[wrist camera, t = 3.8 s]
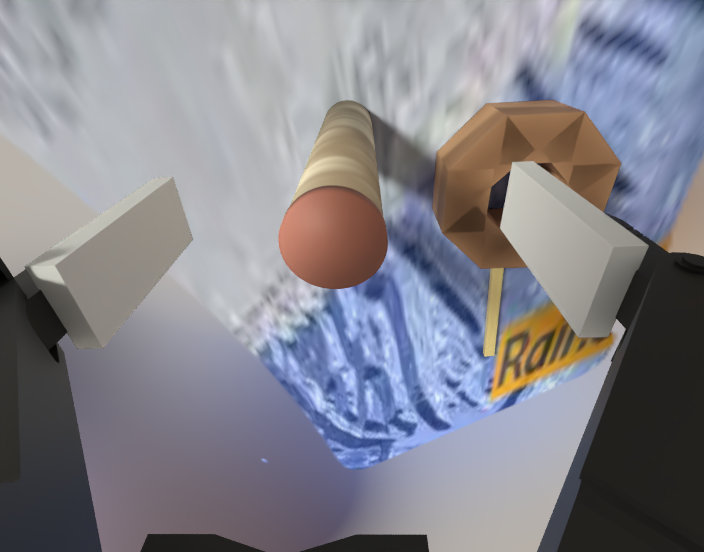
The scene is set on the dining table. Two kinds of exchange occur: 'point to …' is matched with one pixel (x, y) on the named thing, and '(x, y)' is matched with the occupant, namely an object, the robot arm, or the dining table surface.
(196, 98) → the dining table surface
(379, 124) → the dining table surface
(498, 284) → the pale yellow wooden rod
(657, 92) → the dining table surface
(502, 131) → the walnut bead
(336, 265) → the needle dowel
